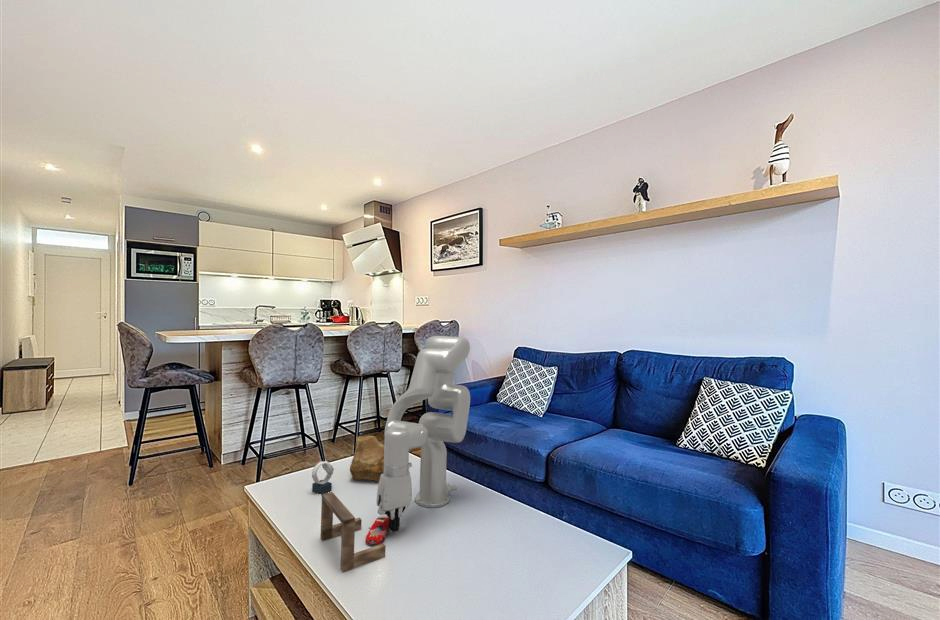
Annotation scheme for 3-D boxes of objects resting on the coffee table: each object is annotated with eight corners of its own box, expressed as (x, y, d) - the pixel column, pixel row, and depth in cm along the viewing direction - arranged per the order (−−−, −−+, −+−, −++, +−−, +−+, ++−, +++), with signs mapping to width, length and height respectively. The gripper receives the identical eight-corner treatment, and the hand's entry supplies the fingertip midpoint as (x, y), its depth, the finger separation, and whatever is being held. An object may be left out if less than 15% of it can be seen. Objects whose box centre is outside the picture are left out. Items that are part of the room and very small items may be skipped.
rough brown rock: (334, 478, 165) (334, 443, 164) (366, 463, 179) (365, 430, 178) (373, 495, 152) (372, 457, 151) (404, 478, 166) (403, 443, 165)
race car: (380, 548, 115) (381, 534, 115) (362, 547, 116) (362, 533, 116) (393, 525, 128) (394, 512, 128) (377, 523, 129) (377, 511, 129)
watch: (335, 489, 153) (336, 460, 153) (317, 497, 146) (318, 466, 146) (325, 486, 156) (326, 457, 156) (307, 493, 149) (308, 463, 149)
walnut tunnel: (359, 527, 126) (360, 484, 126) (385, 556, 111) (386, 508, 111) (320, 538, 119) (321, 494, 119) (342, 572, 103) (343, 520, 104)
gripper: (411, 461, 130) (409, 518, 130) (368, 470, 121) (365, 531, 121) (423, 468, 124) (421, 528, 124) (378, 478, 115) (376, 543, 115)
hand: (393, 529), depth 122 cm, fingers closed
